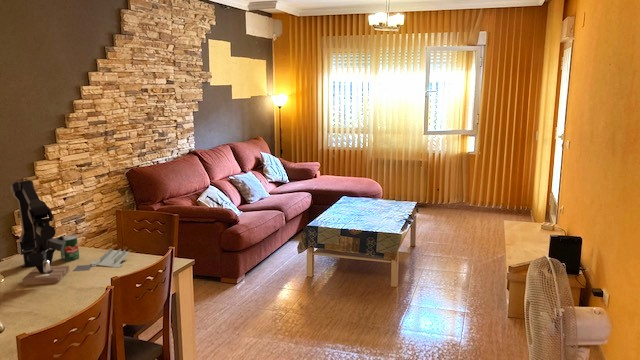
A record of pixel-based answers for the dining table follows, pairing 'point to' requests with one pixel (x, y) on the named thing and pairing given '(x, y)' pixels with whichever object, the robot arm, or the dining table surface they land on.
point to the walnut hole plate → (46, 275)
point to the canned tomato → (70, 248)
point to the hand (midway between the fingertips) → (46, 268)
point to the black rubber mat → (82, 268)
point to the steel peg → (46, 267)
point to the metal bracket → (111, 259)
